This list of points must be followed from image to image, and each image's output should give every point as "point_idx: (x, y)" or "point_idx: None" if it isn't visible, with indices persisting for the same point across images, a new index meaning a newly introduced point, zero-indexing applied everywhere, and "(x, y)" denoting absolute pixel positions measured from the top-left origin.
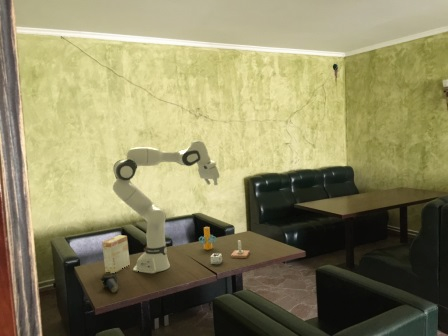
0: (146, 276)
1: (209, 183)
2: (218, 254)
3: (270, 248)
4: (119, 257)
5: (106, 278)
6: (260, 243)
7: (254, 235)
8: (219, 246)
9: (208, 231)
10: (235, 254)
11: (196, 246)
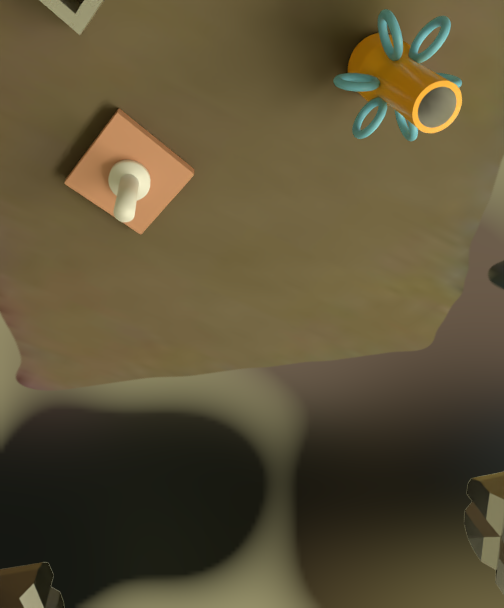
0: None
1: (480, 527)
2: (80, 7)
3: (144, 324)
4: None
5: None
6: (238, 322)
7: (359, 347)
8: (352, 143)
9: (401, 103)
10: (117, 143)
11: (477, 11)
